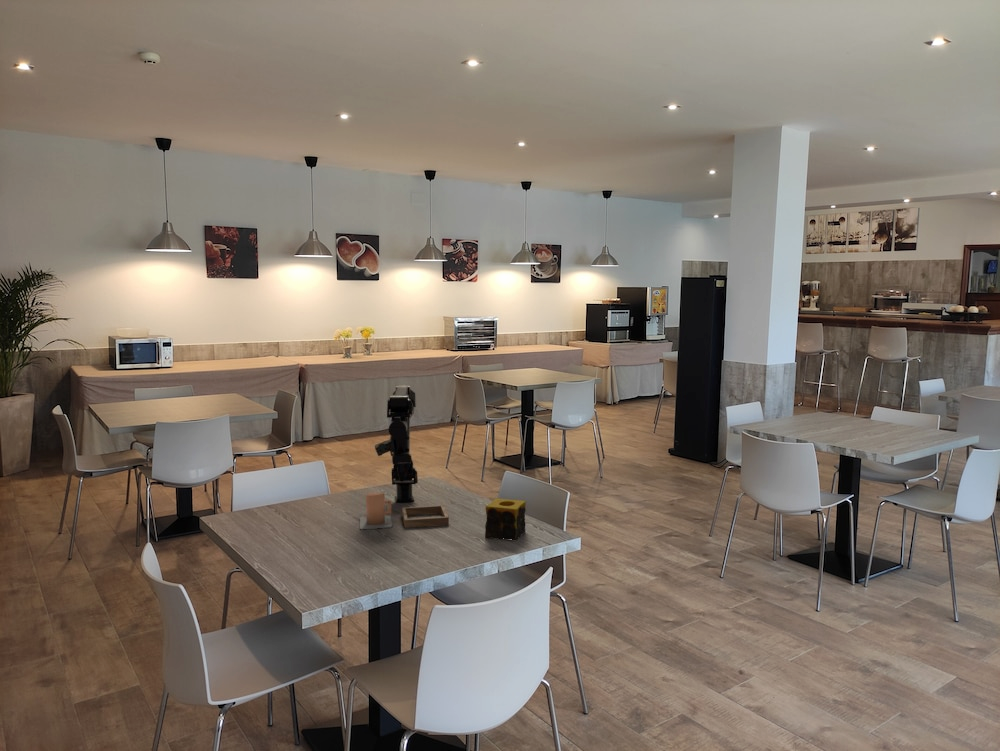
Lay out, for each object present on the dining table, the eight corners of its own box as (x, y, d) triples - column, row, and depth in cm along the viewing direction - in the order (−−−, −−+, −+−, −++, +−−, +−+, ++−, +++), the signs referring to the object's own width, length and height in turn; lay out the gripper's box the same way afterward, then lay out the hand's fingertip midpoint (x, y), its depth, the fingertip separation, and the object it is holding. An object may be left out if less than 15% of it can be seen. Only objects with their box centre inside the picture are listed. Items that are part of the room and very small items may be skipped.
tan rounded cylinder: (366, 519, 237) (365, 492, 236) (390, 518, 238) (390, 491, 238) (366, 525, 231) (366, 497, 230) (391, 523, 233) (391, 496, 232)
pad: (359, 518, 239) (359, 517, 239) (390, 516, 241) (390, 515, 241) (360, 529, 228) (360, 528, 228) (392, 527, 230) (392, 526, 230)
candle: (484, 538, 219) (484, 506, 218) (495, 528, 229) (495, 497, 228) (516, 541, 216) (516, 509, 215) (526, 531, 226) (526, 500, 225)
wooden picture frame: (402, 514, 243) (402, 507, 243) (443, 512, 246) (443, 505, 246) (404, 527, 229) (404, 520, 229) (448, 524, 232) (448, 517, 232)
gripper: (374, 428, 250) (375, 472, 252) (376, 438, 232) (377, 486, 234) (407, 427, 253) (408, 471, 254) (411, 437, 234) (412, 484, 236)
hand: (400, 477), depth 245 cm, fingers open, 9 cm apart
